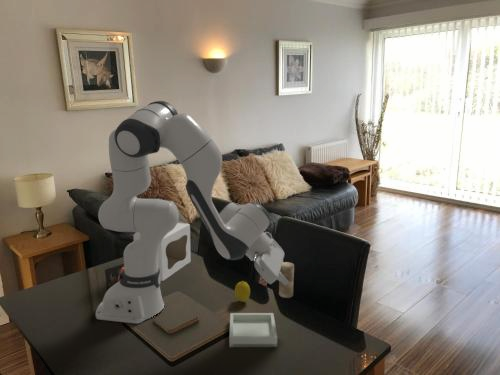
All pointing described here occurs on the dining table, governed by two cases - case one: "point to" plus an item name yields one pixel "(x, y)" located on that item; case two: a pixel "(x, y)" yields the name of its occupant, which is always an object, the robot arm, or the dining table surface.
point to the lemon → (242, 291)
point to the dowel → (288, 278)
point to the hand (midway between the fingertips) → (288, 278)
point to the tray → (252, 330)
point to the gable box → (173, 248)
